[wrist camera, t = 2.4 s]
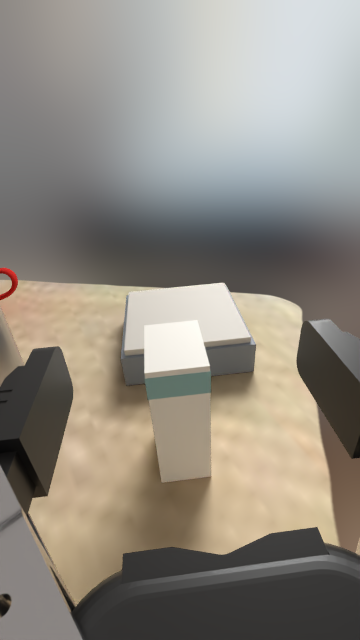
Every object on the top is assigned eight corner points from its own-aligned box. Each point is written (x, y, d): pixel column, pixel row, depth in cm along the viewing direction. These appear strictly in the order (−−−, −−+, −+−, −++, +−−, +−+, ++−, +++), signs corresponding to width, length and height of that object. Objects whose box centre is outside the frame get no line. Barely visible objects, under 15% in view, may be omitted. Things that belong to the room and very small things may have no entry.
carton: (161, 483, 29) (143, 373, 22) (158, 428, 34) (143, 325, 27) (212, 476, 29) (210, 366, 22) (201, 422, 34) (197, 319, 27)
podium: (126, 385, 40) (119, 353, 37) (130, 317, 53) (125, 290, 50) (253, 371, 40) (256, 339, 38) (225, 308, 54) (226, 281, 51)
